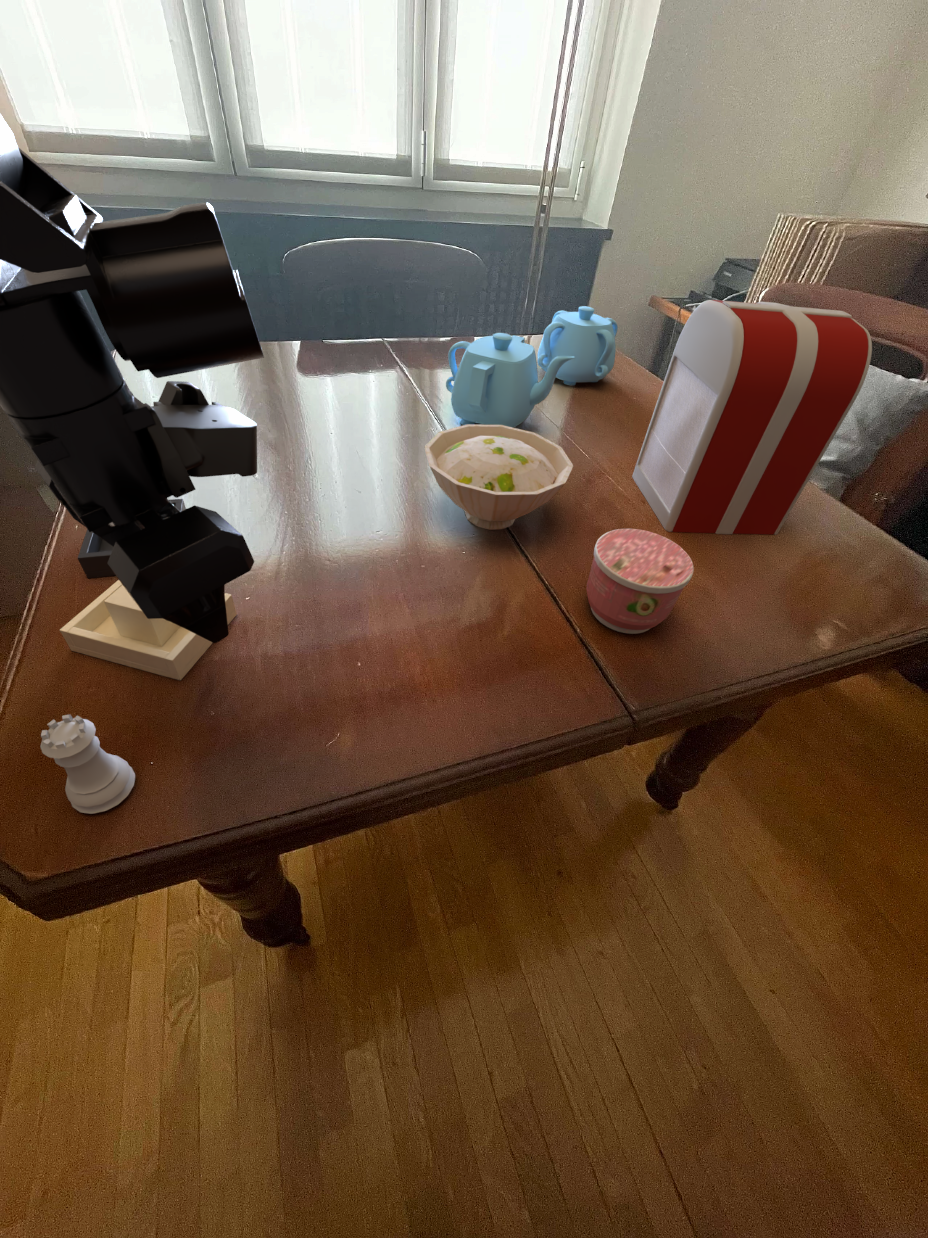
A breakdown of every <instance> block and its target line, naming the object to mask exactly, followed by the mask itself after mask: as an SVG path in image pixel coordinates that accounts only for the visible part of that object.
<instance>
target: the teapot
mask: <svg viewBox="0 0 928 1238" xmlns="http://www.w3.org/2000/svg"><path fill="white" fill-rule="evenodd" d="M460 349H464V350H465V351H464V353H463V355H462V358H461V360H460V363H459V365H457V361H456V360H457V359H456V352H457V350H460ZM573 358H574V356H558V357H555V358H554V359H553V360H552V361H551V362H550V364H549V366H548V368H547V371H546V372H545V373H544V375H543V378H542V379H541V380H540V381H539V371H538V363H537V355H536V349H535V347H534V345H532V344H529V343H526V337H524V336H520V335H519V336H518V335H510V334H509V333H505V332H496V333H493V334H492V335H485V336H482V337H479V338H477V339H475V340H473V341H471V342H469V341H465V340H463V341H462V340H461V341H458V342H456V343H454V344H453V345H452V346H451V347H450V348H449V350H448V354H447V360H448V361H447V362H448V365H449V370H450V372H451V376H449V377H448V378H447V380H446V381H445V388H446V390H447V391H448V392H449V393H451V395H450V402H451V408H452V410H453V413H454V414H455V416H456V417H458V418H460V419H459V420H458V423H459V424H460V425H461V426H463V425H466V424H473V425H476V424H478V425H504V426H508V427H513V428H516V427H517V426H519V425H520V424H522V423H523V422H524V421H526V419H527V418H528V417H529V416H530V414H531V413H532V412H533V409H534V408H535V406H536V405H538V404H541V403H542V402H543V401H545V400H546V398H547V397H548V396H549V395H550V393H551V391H552V389H553V386H554V383H555V380H556V374H557V372H558V370H559V368H560V367H561V366H562V365H563V364H564V363H565V362H567V361H568V360H570V359H573ZM452 382H453V384H452Z"/></svg>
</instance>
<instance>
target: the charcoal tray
mask: <svg viewBox="0 0 928 1238" xmlns="http://www.w3.org/2000/svg"><path fill="white" fill-rule="evenodd" d="M168 500H169V501H170V502H171V503H172V504H173V505H174V506H175V507H176V508H177V509H178V510H179V511H180V512H181V511H183V510H186V509H187V508H186V504H185V501H184V499H183V498H173V499H168ZM156 513H157V512H156ZM161 518H162V517H161ZM112 550H113V546H112V545H110V544H109V543H107V542H106V541H105V540H103V539H102V538H100V537H99V536H97V535H96V534H95V533H93V532H92V531H91V532H89V531H88V529H87V528H86V531H85V534H84V537H83V541H82V544H81V547H80V549H79V553H78V554H77V555H78V556H77V560H78V562H79V564H80V566H81V568H82V570H83V573H84V575H85V576H86V578H87V579H95V578H103V577H104V578H105V577H114V576H116V575H115V574H114V572H113V571H112V569H111V568H110V566H109V565H108V564H107V563H108V560H109V558H110V555H111V553H112ZM116 577H117V576H116Z"/></svg>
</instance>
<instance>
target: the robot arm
mask: <svg viewBox="0 0 928 1238" xmlns="http://www.w3.org/2000/svg"><path fill="white" fill-rule="evenodd" d="M81 291H86V293H87V294H88V296H89V298H90V300H91V302H92V304H93V307H94V309H95V311H96V313H97V314H96V315H97V316H98V318H99V321H100V323H101V326H102V327H103V329H104V331H105V334H106V335H107V337H108V339H109V341H110V343H111V345H112V347H113V348H114V349H115V351H116V353H117V355H119V357H120V358H121V359H122V360H123V361H125V362H131V364H132V365H133V367H134V368H135V370H136V371H137V372H143V371H149V373H150V374H152V376H153V377H154V378H156V379H160V378H165V377H171V376H176V375H182V374H187V373H191V372H197V371H202V370H207V369H213V368H219V367H223V366H228V365H233V364H238V363H245V362H248V361H254V360H260V359H264V358H265V355H264V352H263V349H262V345H261V342H260V338H259V336H258V332H257V329H256V326H255V322H254V320H253V316H252V313H251V310H250V306H249V303H248V300H247V297H246V294H245V291H244V287H243V284H242V281H241V278H240V275H239V271H238V269H234V268H233V265H232V262H231V258H230V256H229V252H228V249H227V246H226V243H225V241H224V238H223V234H222V232H221V229H220V225H219V223H218V218H217V216H216V213H215V210H214V207H213V206H212V205H211V204H210V203H209V202H205V201H204V202H197V203H189V204H184V205H180V206H178V207H175V208H174V209H172V210H170V211H167V212H163V213H162V212H161V213H155V214H148V215H141V216H134V217H126V218H118V219H112V220H106V221H105V220H104V219H103V217H102V215H101V214H99V213H98V212H97V211H96V210H95V209H94V208H92V207H91V206H90V205H89V204H87V203H86V202H85V201H84V200H83V199H82V198H80V197H79V196H78V195H77V194H75V192H73V191H72V190H71V189H70V188H68V187H67V186H66V185H64V183H62V182H61V181H60V180H58V178H56V177H55V176H54V175H53V174H51V173H50V172H49V171H48V170H46V169H45V168H44V167H43V166H42V165H40V164H39V163H38V162H37V161H35V160H34V159H33V158H32V157H31V156H30V155H28V154H27V153H26V152H25V151H23V150H22V149H21V148H20V147H19V146H18V144H17V141H16V138H15V135H14V133H13V131H12V130H11V128H10V127H9V125H8V123H7V122H6V121H5V119H4V117H3V116H2V114H1V113H0V408H1V410H3V412H4V413H5V415H6V416H7V419H8V421H9V423H10V424H11V425H12V427H13V429H14V430H15V431H16V433H17V434H18V435H19V436H20V438H21V439H22V440H23V442H24V443H25V444H26V446H27V447H28V448H29V449H30V450H31V452H32V453H33V456H35V458H36V460H37V461H36V464H35V466H34V469H35V470H36V471H37V473H38V475H39V476H40V477H41V479H42V480H43V481H44V483H45V485H46V486H47V487H48V488H49V490H50V491H51V493H52V494H53V495H54V497H55V498H56V499H57V501H58V502H59V504H60V505H61V506H63V507H64V508H65V510H66V511H67V512H68V513H69V515H70V516H71V517H72V519H74V520H75V521H76V522H78V523H79V524H80V525H83V527H84V528H86V530H87V529H88V531H89V532H91V531H92V532H93V533H95V534H96V535H97V536H99V537H100V538H102V539H103V540H105V541H106V542H107V543H109V544H110V545H112V546H113V550H112V553H111V555H110V558H109V560H108V563H107V564H108V565H109V566H110V568H111V569H112V571H113V572H114V574H115V575H116V578H117V579H118V580H119V581H120V582H121V583H122V585H123V586H124V588H125V589H126V590H127V592H128V593H129V594H130V596H131V597H132V598H133V600H134V601H135V602H136V604H137V605H138V606H139V608H140V609H141V610H142V612H143V613H144V614H145V616H146V617H147V618H148V619H161V618H163V619H165V620H167V621H170V622H172V623H174V624H176V625H178V626H180V627H182V628H185V629H187V630H189V631H191V632H193V633H195V634H197V635H199V636H201V637H203V638H205V639H206V640H208V641H210V642H212V644H217V643H219V642H220V641H222V640H224V639H225V638H227V637H228V636H229V631H230V630H229V624H228V622H227V613H226V604H225V593H226V592H225V590H226V588H225V587H226V585H227V584H229V583H230V582H233V581H234V580H236V579H238V578H240V577H242V576H243V575H246V574H247V573H249V572H251V571H252V568H253V566H254V563H255V559H254V557H253V556H252V553H251V550H250V548H249V546H248V544H247V541H246V539H245V537H244V535H243V534H242V533H241V532H239V531H238V529H236V528H235V527H234V526H233V525H232V524H230V523H229V522H228V521H227V520H226V519H225V518H224V517H223V516H222V515H220V513H218V512H217V511H215V510H212V509H209V508H205V507H201V506H198V505H195V504H194V505H192V506H190V507H188V508H186V510H183V511H181V512H180V511H179V510H178V509H177V508H176V507H175V506H174V505H173V504H172V503H171V502H170V501H169V500H170V499H168V498H170V497H172V496H173V497H174V498H175V499H179V498H180V497H182V496H185V495H187V494H189V493H191V492H193V491H196V487H195V484H194V483H193V480H192V479H191V477H192V478H207V477H208V478H209V477H220V476H230V475H239V476H240V477H242V478H245V477H251V476H255V475H256V474H257V473H258V424H257V423H256V422H255V421H254V420H252V419H251V418H249V417H248V416H246V415H244V414H243V413H241V412H240V411H238V410H237V409H235V408H233V407H230V406H227V405H223V404H221V403H220V402H218V401H212V402H211V404H210V403H209V402H208V400H207V398H206V396H205V395H204V393H203V391H202V390H201V388H199V387H198V386H196V385H195V384H193V383H192V382H190V381H179V380H178V381H176V380H168V381H166V383H165V385H164V387H163V390H162V392H161V394H160V397H159V399H158V401H153V403H152V405H153V406H152V405H150V404H148V403H147V402H144V403H143V402H142V401H141V400H140V399H138V398H137V397H135V395H134V393H133V391H131V389H130V388H129V385H128V384H127V382H126V380H125V378H124V375H123V374H122V372H121V370H120V368H119V366H118V364H117V362H116V361H115V359H114V356H113V353H112V352H111V351H110V348H109V346H108V344H107V342H106V340H105V339H104V337H103V335H102V332H101V330H100V329H99V327H98V325H97V323H96V321H95V319H94V317H93V315H92V313H91V311H90V309H89V307H88V305H87V303H86V301H85V299H84V297H83V295H82V293H81ZM156 512H157V513H156ZM161 517H162V518H161Z"/></svg>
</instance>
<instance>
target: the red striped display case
mask: <svg viewBox="0 0 928 1238" xmlns="http://www.w3.org/2000/svg"><path fill="white" fill-rule="evenodd" d="M872 354H873V342H872V338H871V334H870V332H869V330H868V329H867V328H865V327H864V326H863V325H862V324H861V323H860V322H858V320H856V319H855V318H853V315H852V314H849V313H848V312H845V311H844V310H839V309H838V310H836V309H827V308H826V309H825V308H815V307H805V306H804V307H803V306H792V305H788V304H783V303H779V302H771V301H770V302H769V301H758V302H755V303H754V302H744V301H733V300H731V301H730V300H721V299H720V300H719V299H707V300H704V301H702V302H701V303H700V304H698V305H697V306H696V308H695V309H694V310H693V311H692V312H691V314H690V316H689V317H688V319H687V321H686V322H685V324H684V326H683V328H682V330H681V331H680V334H679V337H678V339H677V342H676V344H675V347H674V350H673V353H672V356H671V358H670V362H669V365H668V368H667V371H666V374H665V377H664V380H663V383H662V386H661V389H660V392H659V395H658V397H657V401H656V403H655V407H654V409H653V413H652V415H651V418H650V422H649V424H648V427H647V431H646V434H645V436H644V440H643V442H642V446H641V448H640V452H639V455H638V457H637V460H636V463H635V466H634V470H633V473H632V475H631V477H632V479H633V481H634V483H635V484H636V486H637V487H638V489H639V490H640V492H641V494H642V496H643V497H644V498H645V500H646V502H647V503H648V505H649V506H650V508H651V509H652V512H653V513H654V514H655V516H656V518H657V520H658V521H659V522H660V524H661V526H662V527H663V529H664V530H665V531H666V532H668V533H672V532H673V533H693V534H694V533H696V534H716V535H734V534H736V535H771V536H772V535H778V534H779V532H780V530H781V529H782V527H783V525H784V523H785V522H786V520H787V518H788V516H789V515H790V513H791V512H792V510H793V508H794V506H795V504H796V503H797V501H798V499H799V498H800V496H801V494H802V492H803V491H804V490H805V487H806V486H807V484H808V482H809V480H810V479H811V478H812V475H813V474H814V472H815V470H816V469H817V467H818V465H819V463H820V461H821V460H822V458H823V456H824V455H825V453H826V451H827V450H828V448H829V446H830V444H831V442H832V441H833V439H834V438H835V436H836V434H837V432H838V431H839V429H840V428H841V426H842V424H843V422H844V420H845V419H846V417H847V415H848V414H849V412H850V411H851V409H852V407H853V405H854V403H855V402H856V399H857V398H858V396H859V395H860V393H861V390H862V388H863V385H864V383H865V381H866V378H867V375H868V372H869V368H870V365H871V361H872V356H873V355H872Z"/></svg>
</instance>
